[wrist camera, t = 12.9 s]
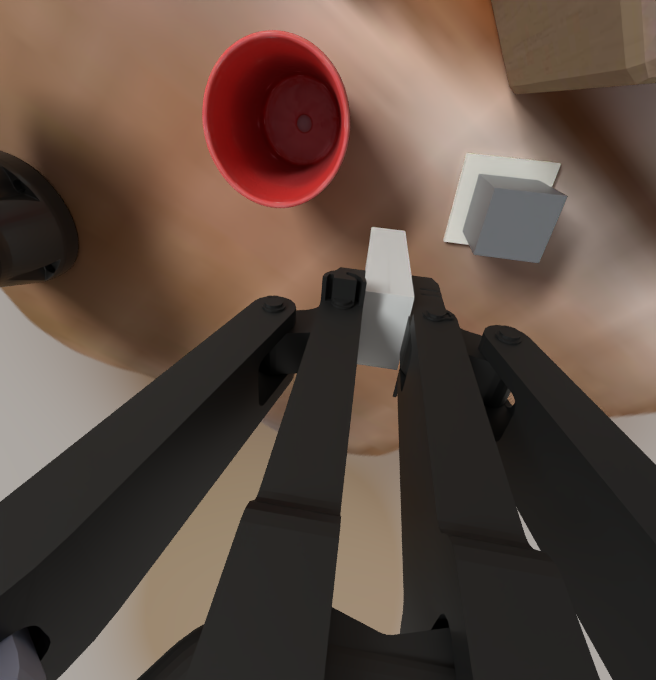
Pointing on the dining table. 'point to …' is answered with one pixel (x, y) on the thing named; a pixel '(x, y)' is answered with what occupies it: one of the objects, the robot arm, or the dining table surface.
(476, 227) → the grey rectangular block
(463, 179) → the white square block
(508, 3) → the wooden block
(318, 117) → the flower pot
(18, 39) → the dining table surface
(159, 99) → the dining table surface
